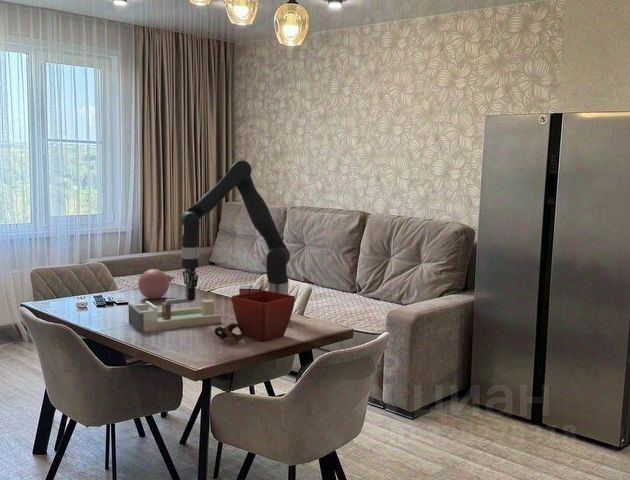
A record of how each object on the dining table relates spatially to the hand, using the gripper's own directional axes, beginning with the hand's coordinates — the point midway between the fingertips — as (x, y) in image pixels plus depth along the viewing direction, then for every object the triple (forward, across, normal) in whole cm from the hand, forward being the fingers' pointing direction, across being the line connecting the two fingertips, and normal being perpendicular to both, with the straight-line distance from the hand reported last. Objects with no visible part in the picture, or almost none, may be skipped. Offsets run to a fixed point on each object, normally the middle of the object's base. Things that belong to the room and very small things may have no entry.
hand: (190, 295), depth 281 cm
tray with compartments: (+12, 0, +6) cm, 13 cm away
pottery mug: (+12, -38, -3) cm, 40 cm away
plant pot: (+12, -37, -18) cm, 43 cm away
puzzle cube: (+12, +14, -36) cm, 40 cm away
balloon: (+12, +52, -1) cm, 53 cm away
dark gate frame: (+10, 0, +5) cm, 11 cm away
